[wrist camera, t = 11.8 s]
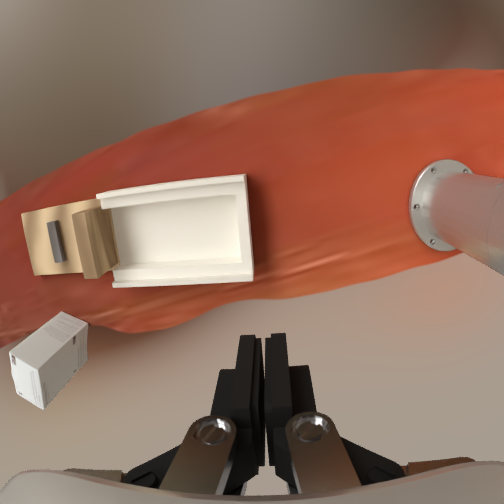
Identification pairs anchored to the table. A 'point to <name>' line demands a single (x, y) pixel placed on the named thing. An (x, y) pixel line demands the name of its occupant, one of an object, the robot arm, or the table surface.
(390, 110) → the table surface
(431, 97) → the table surface
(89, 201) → the lid
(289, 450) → the robot arm
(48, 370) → the skincare box
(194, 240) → the box
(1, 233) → the table surface
